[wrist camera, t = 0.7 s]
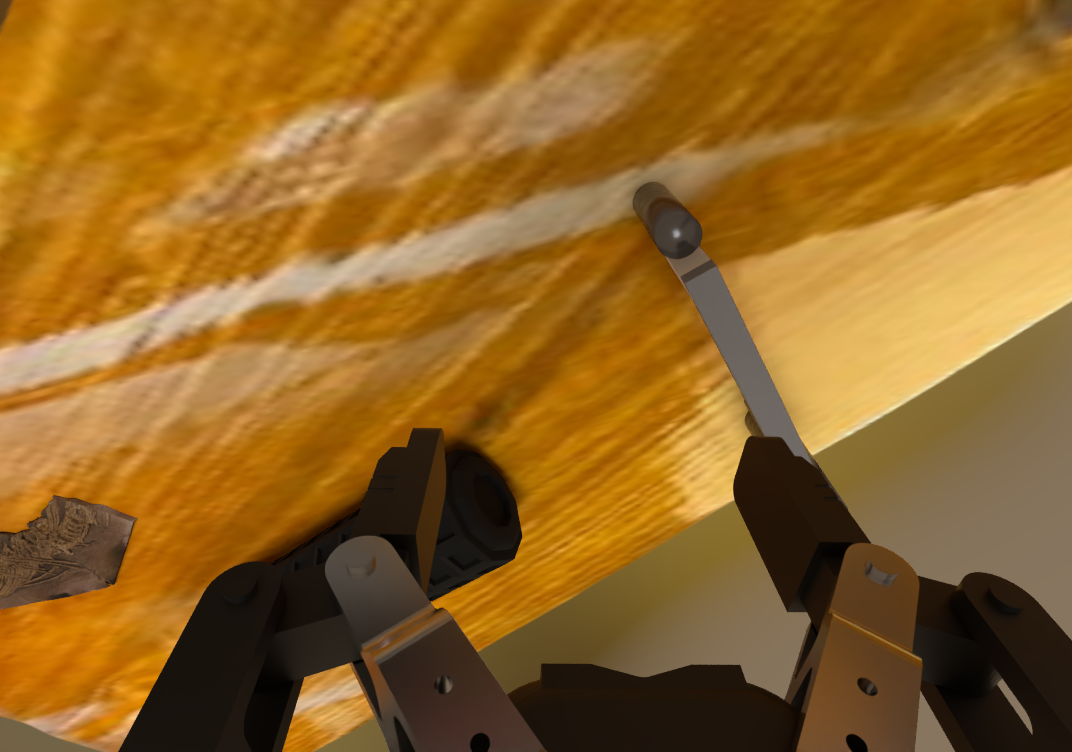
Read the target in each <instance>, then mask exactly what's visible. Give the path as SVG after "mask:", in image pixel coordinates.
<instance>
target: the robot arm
mask: <svg viewBox="0 0 1072 752" xmlns="http://www.w3.org/2000/svg"><path fill="white" fill-rule="evenodd" d="M445 491H446V464H445V449H444V435H443V429H442V428H413V430H412V432H411V436H410V439H409V442H408V445H407V447H391V448H390V449H389V450H388V451H387V452H386V453H385V454H384V455H383V456H382V457H381V458H380V459H379V460H378V463H377V466H376V468H375V471H374V474H373V478H372V479H371V482H370V484H369V487H368V491H367V493H366V495H365V498H364V501H363V503H362V506H361V509H360V511H359V514H358V517H357V519H356V522H355V525H354V527H353V530H352V533H351V535H350V538H349V540H348V541H346V542H344V543H342V544H341V545H340V546H338V547H337V548H336V549H335V550H334V551H333V552H332V553H331V555H330V556H329V558H328V560H327V561H325V562H323V563H321V564H319V565H316V566H313V567H310V568H306V569H302V570H298V571H294V572H290V573H286V574H282V575H280V573H279V570H278V569H277V568H276V567H275V566H273V565H272V564H269V563H266V562H259V561H255V562H247V563H243V564H240V565H237V566H234V567H232V568H230V569H228V570H227V571H225V572H223V573H222V574H220V575H219V576H218V577H217V578H215V579H214V580H213V581H212V582H211V583H210V585H209V586H208V587H207V588H206V590H205V592H204V593H203V595H202V597H201V599H200V601H199V603H198V604H197V606H196V608H195V610H194V612H193V614H192V616H191V617H190V619H189V621H188V623H187V625H186V627H185V629H184V631H183V632H182V634H181V636H180V638H179V640H178V642H177V644H176V645H175V647H174V649H173V651H172V653H171V655H170V657H169V658H168V660H167V662H166V664H165V666H164V668H163V670H162V671H161V673H160V675H159V677H158V679H157V681H156V683H155V684H154V686H153V688H152V690H151V692H150V694H149V696H148V697H147V699H146V701H145V703H144V705H143V707H142V709H141V711H140V712H139V714H138V716H137V718H136V720H135V722H134V724H133V725H132V727H131V729H130V731H129V733H128V735H127V737H126V738H125V740H124V742H123V744H122V746H121V748H120V750H119V751H118V752H282V750H283V747H284V743H285V740H286V737H287V733H288V730H289V727H290V723H291V720H292V717H293V713H294V710H295V707H296V703H297V700H298V697H299V693H300V690H301V687H302V683H303V680H304V677H306V676H310V675H313V674H316V673H319V672H322V671H325V670H329V669H332V668H335V667H338V666H341V665H345V664H348V663H349V664H350V666H351V668H352V670H353V672H354V674H355V676H356V678H357V680H358V682H359V684H360V687H361V689H362V691H363V693H364V695H365V697H366V699H367V701H368V703H369V705H370V707H371V709H372V712H373V714H374V716H375V718H376V720H377V722H378V724H379V726H380V728H381V731H382V733H383V735H384V738H385V740H386V743H387V745H388V749H389V751H390V752H915V740H916V730H917V719H918V709H919V698H920V690H921V692H922V694H923V696H924V697H925V699H926V701H927V703H928V704H929V706H930V708H931V710H932V711H933V713H934V715H935V717H936V718H937V720H938V722H939V724H940V725H941V727H942V729H943V731H944V732H945V734H946V736H947V738H948V739H949V741H950V743H951V745H952V747H953V748H954V750H955V752H1072V640H1071V639H1070V638H1069V637H1068V636H1067V635H1066V634H1065V632H1064V631H1063V630H1062V629H1061V628H1060V627H1059V626H1058V624H1057V623H1056V622H1055V621H1054V620H1053V619H1052V618H1051V617H1050V615H1049V614H1048V613H1047V612H1046V611H1045V610H1044V609H1043V607H1042V606H1041V605H1040V604H1039V603H1038V602H1037V601H1036V600H1035V599H1034V598H1033V597H1032V596H1031V595H1030V594H1028V593H1027V592H1025V591H1024V590H1023V589H1022V588H1020V587H1018V586H1017V585H1015V584H1014V583H1011V582H1010V581H1008V580H1006V579H1003V578H1001V577H998V576H995V575H992V574H988V573H982V572H974V573H970V574H968V575H966V576H965V577H964V578H963V579H962V581H961V583H960V584H959V585H958V586H955V585H951V584H947V583H943V582H939V581H936V580H932V579H928V578H924V577H920V576H917V574H916V572H915V571H914V570H913V568H912V567H911V566H910V565H909V564H908V563H907V562H906V561H905V560H904V559H903V558H901V557H899V556H898V555H897V554H895V553H894V552H892V551H890V550H888V549H886V548H884V547H881V546H878V545H874V544H871V542H870V541H869V540H868V538H867V537H866V535H865V534H864V532H863V531H862V530H861V528H860V527H859V525H858V524H857V523H856V521H855V520H854V519H853V517H852V516H851V514H850V513H849V512H848V510H847V509H846V507H845V506H844V504H843V503H842V502H841V500H838V496H837V495H836V493H835V492H834V491H833V489H832V488H830V487H829V484H828V482H827V481H826V479H825V478H824V477H823V475H822V474H821V472H820V471H819V470H818V469H817V468H816V467H814V466H813V465H812V464H811V463H809V462H808V461H807V460H805V459H804V458H803V457H802V456H795V455H794V454H793V453H792V451H791V450H790V448H789V447H788V445H787V444H786V442H785V441H784V440H783V438H781V437H776V436H750V437H749V438H748V439H747V441H746V443H745V446H744V449H743V453H742V456H741V459H740V462H739V466H738V469H737V472H736V475H735V479H734V484H733V493H734V499H735V502H736V504H737V507H738V509H739V511H740V513H741V515H742V517H743V519H744V521H745V524H746V526H747V528H748V530H749V532H750V534H751V536H752V538H753V540H754V542H755V545H756V547H757V549H758V551H759V553H760V555H761V557H762V559H763V561H764V564H765V566H766V568H767V570H768V572H769V574H770V576H771V578H772V581H773V583H774V585H775V587H776V589H777V591H778V593H779V595H780V597H781V600H782V602H783V603H784V606H785V608H786V610H787V612H807V613H808V615H809V617H810V619H811V622H810V624H809V626H808V628H807V630H806V634H805V637H804V640H803V643H802V646H801V650H800V653H799V656H798V660H797V663H796V666H795V669H794V672H793V675H792V679H791V682H790V685H789V688H788V691H787V694H786V697H785V699H784V700H783V699H782V698H780V697H779V696H777V695H775V694H773V693H771V692H769V691H767V690H765V689H763V688H761V687H758V686H755V685H753V684H750V683H746V680H745V677H744V674H743V672H742V669H741V666H740V665H689V666H685V667H682V668H678V669H675V670H672V671H668V672H664V673H660V674H657V675H653V676H650V677H638V676H634V675H630V674H626V673H623V672H619V671H615V670H611V669H608V668H604V667H600V666H596V665H593V664H541V675H540V680H537V681H534V682H531V683H528V684H526V685H524V686H521V687H519V688H517V689H515V690H514V691H512V692H511V693H509V694H506V693H505V692H504V690H503V689H502V687H501V686H500V684H499V683H498V681H497V680H496V679H495V677H494V676H493V674H492V673H491V671H490V670H489V669H488V667H487V666H486V664H485V663H484V661H483V660H482V659H481V657H480V656H479V654H478V653H477V651H476V650H475V649H474V647H473V646H472V644H471V643H470V641H469V640H468V638H467V637H466V636H465V634H464V633H463V631H462V630H461V628H460V627H459V626H458V624H457V623H456V621H455V620H454V618H453V617H452V616H451V614H450V613H449V612H448V611H447V610H446V609H444V608H439V609H438V610H437V609H436V608H434V606H433V605H432V604H431V602H430V601H429V599H428V598H427V596H426V594H427V589H428V583H429V578H430V573H431V567H432V562H433V557H434V552H435V546H436V541H437V536H438V530H439V525H440V520H441V515H442V509H443V504H444V499H445ZM1001 679H1003V680H1004V681H1005V683H1006V684H1007V686H1008V687H1009V688H1010V690H1011V691H1012V692H1013V694H1014V695H1015V697H1016V698H1017V700H1018V701H1019V702H1020V704H1021V705H1022V707H1023V708H1024V709H1025V711H1026V713H1027V714H1028V716H1029V719H1030V721H1031V724H1032V730H1033V735H1032V734H1031V733H1030V731H1029V730H1028V728H1027V727H1026V725H1025V724H1024V723H1023V721H1022V720H1021V718H1020V717H1019V715H1018V714H1017V713H1016V711H1015V710H1014V708H1013V707H1012V706H1011V704H1010V703H1009V702H1008V700H1007V698H1006V697H1005V695H1004V694H1003V692H1002V691H1001V690H1000V688H999V687H998V685H997V683H998V682H999V681H1000V680H1001Z"/></svg>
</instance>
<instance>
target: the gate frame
mask: <svg viewBox="0 0 1072 752" xmlns="http://www.w3.org/2000/svg"><path fill="white" fill-rule="evenodd" d="M633 207H634V210H635V212H636V214H637V215H638V217H639V218H640V220H641V222H642V223H643V225H644V226H645V228H646V230H647V231H648V233H649V234H650V236H651V238H652V239H653V241H654V242H655V244H656V246H657V247H658V249H659V250H660V252H661V253H662V254H663V255H664V256H666V257H668V258H671V259H682V258H685V257H687V256H689V255H691V254H692V253H693V252H694V251H695V250H696V249H697V248H698V246H699V244H700V242H701V239H702V229H701V226H700V224H699V222H698V221H697V220H696V219H695V218H694V217H693V216H692V215H691V214H690V213H689V212H688V211H687V210H686V208H685V207H684V206H683V205H682V204H681V203H680V202H679V201H678V200H677V199H676V198H675V197H674V196H673V195H672V194H671V193H670V192H669V191H668V190H667V189H666V188H665V187H664V186H663V185H662V184H660V183H657V182H650V183H647V184H644V185H643V186H641V187H640V188H639V189H638V190H637V192H636V193H635V195H634V199H633ZM745 424H746V426H747V428H748V430H749V432H750V433H751V435H752V436H764V435H763V434H762V432H761V430H760V429H759V427H758V425H757V423H756V422H755V420H754V418H753V417H752V415H751V413H750V412H748V413H747V415H746V417H745ZM802 443H803V442H802ZM803 446H804V448H805V450H806V452H807V454H808V456H809V458H810V460H811V462H812V464H813V466H814V467H816V468H817V469H818V470H819V471H820V472H821V474H822V475H823V477H824V478H825V479H826V481H827V482H828V484H829V487H830V488H832V489H833V491H834V492H835V493H836V495H837V496H838V500H841V502H842V503H843V504H844V506H845V507H846V509H847V510H848V508H847V506H846V505H845V503H844V502H843V501H842V499H841V498H840V496H839V495H838V493H837V492H836V490H835V489H834V487H833V486H832V484H831V483H830V482H829V480H828V479H827V477H826V476H825V474H824V473H823V472H822V470H821V468H820V467H819V465H818V464H817V463H816V461H815V460H814V458H813V457H812V455H811V454H810V452H809V451H808V449H807V448H806V446H805V445H804V443H803Z"/></svg>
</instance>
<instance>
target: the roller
mask: <svg viewBox="0 0 1072 752" xmlns="http://www.w3.org/2000/svg"><path fill="white" fill-rule="evenodd" d="M445 464H446V491H445V499H444V504H443V509H442V515H441V520H440V525H439V530H438V536H437V541H436V546H435V552H434V557H433V562H432V567H431V573H430V578H429V583H428V589H427V594H426V596H427V598H428V599H429V601H434V600H436V599H437V598H439V597H441V596H443V595H445V594H447V593H449V592H451V591H453V590H455V589H456V588H458V587H461V586H463V585H465V584H467V583H469V582H471V581H473V580H475V579H477V578H479V577H480V576H482V575H484V574H486V573H489V572H491V571H493V570H495V569H497V568H499V567H501V566H503V565H505V564H507V563H508V562H510V561H512V560H513V559H515V556H516V553H517V550H518V547H519V545H520V542H521V539H522V532H521V526H520V521H519V515H518V510H517V505H516V501H515V499H514V497H513V495H512V493H511V491H510V490H509V488H508V486H507V484H506V482H505V480H504V478H503V477H502V476H501V475H500V474H499V473H498V472H497V471H496V470H495V469H494V468H493V467H492V466H491V465H490V464H489V463H488V462H487V461H486V460H485V459H484V458H483V457H482V456H480V455H479V454H478V453H474V452H469V451H463V450H458V449H456V450H455V451H453V452H451V453H449V454H447V455H446V456H445ZM360 509H361V508H360ZM360 509H359V510H357V511H356V512H354V513H352V514H351V515H349V516H347V517H346V518H344V519H342V520H341V521H339V522H337V523H336V524H334V525H333V526H332V527H330V528H328V529H326V530H325V531H323V532H321V533H320V534H318V535H316V536H315V537H313V538H312V539H311V540H309V541H307V542H305V543H304V544H302V545H300V546H299V547H297V548H295V549H294V550H292V551H291V552H289V553H288V554H286V555H284V556H283V557H281V558H279V559H278V560H276V561H274V562H273V563H271V564H272V565H273V566H275V567H276V568H277V569H278V570H279V573H280V575H282V574H286V573H290V572H294V571H298V570H302V569H306V568H310V567H313V566H316V565H319V564H321V563H323V562H325V561H327V560H328V558H329V556H330V555H331V553H332V552H333V551H334V550H335V549H336V548H337V547H338V546H340V545H341V544H342V543H344V542H346V541H348V540H349V538H350V535H351V533H352V530H353V527H354V525H355V522H356V519H357V517H358V514H359V511H360Z"/></svg>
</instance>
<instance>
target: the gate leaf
mask: <svg viewBox="0 0 1072 752" xmlns="http://www.w3.org/2000/svg"><path fill="white" fill-rule="evenodd" d="M665 257H666V256H665ZM666 259H667V261H668V262H669V264H670V265H671V267H672V269H673V270H674V272H675V273H676V275H677V276H678V278H679V280H680V281H681V283H682V284H683V286H684V288H685V289H686V291H687V292H688V294H689V295H690V297H691V299H692V300H693V302H694V304H695V305H696V307H697V309H698V311H699V313H700V315H701V317H702V319H703V321H704V323H705V324H706V326H707V328H708V330H709V332H710V334H711V336H712V338H713V340H714V342H715V343H716V345H717V347H718V349H719V351H720V353H721V355H722V357H723V359H724V361H725V362H726V364H727V366H728V368H729V370H730V372H731V374H732V376H733V378H734V379H735V381H736V383H737V385H738V387H739V389H740V391H741V393H742V395H743V397H744V398H745V400H744V403H745V405H746V407H747V408H748V410H749V412H750V413H751V415H752V417H753V418H754V420H755V422H756V423H757V425H758V427H759V429H760V430H761V432H762V434H763V435H764V436H776V437H781V438H783V440H784V441H785V442H786V444H787V445H788V447H789V448H790V450H791V451H792V453H793V454H794V455H795V456H802V457H803V458H804V459H805V460H807V461H808V462H809V463H811V464H812V462H811V460H810V458H809V456H808V454H807V452H806V450H805V448H804V446H803V443H802V441H801V439H800V437H799V435H798V433H797V431H796V429H795V427H794V425H793V423H792V421H791V419H790V417H789V414H788V412H787V410H786V408H785V406H784V404H783V402H782V400H781V398H780V396H779V394H778V392H777V390H776V388H775V385H774V383H773V381H772V379H771V377H770V375H769V373H768V371H767V369H766V367H765V365H764V363H763V361H762V359H761V356H760V354H759V352H758V350H757V348H756V346H755V344H754V342H753V340H752V338H751V336H750V334H749V332H748V330H747V328H746V325H745V323H744V321H743V319H742V317H741V315H740V313H739V311H738V309H737V307H736V305H735V303H734V301H733V299H732V296H731V294H730V292H729V290H728V288H727V286H726V284H725V282H724V280H723V278H722V276H721V274H720V272H719V270H718V267H717V265H716V264H715V263H714V262H713V261H712V260H710V259H709V257H708V256H707V255H706V254H705V253H704V251H703V250H702V249H701V248H700V247H699V246H698V248H697V249H696V250H695V251H694V252H693V253H692V254H691V255H689V256H687V257H685V258H682V259H671V258H668V257H666ZM812 465H813V464H812Z"/></svg>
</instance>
